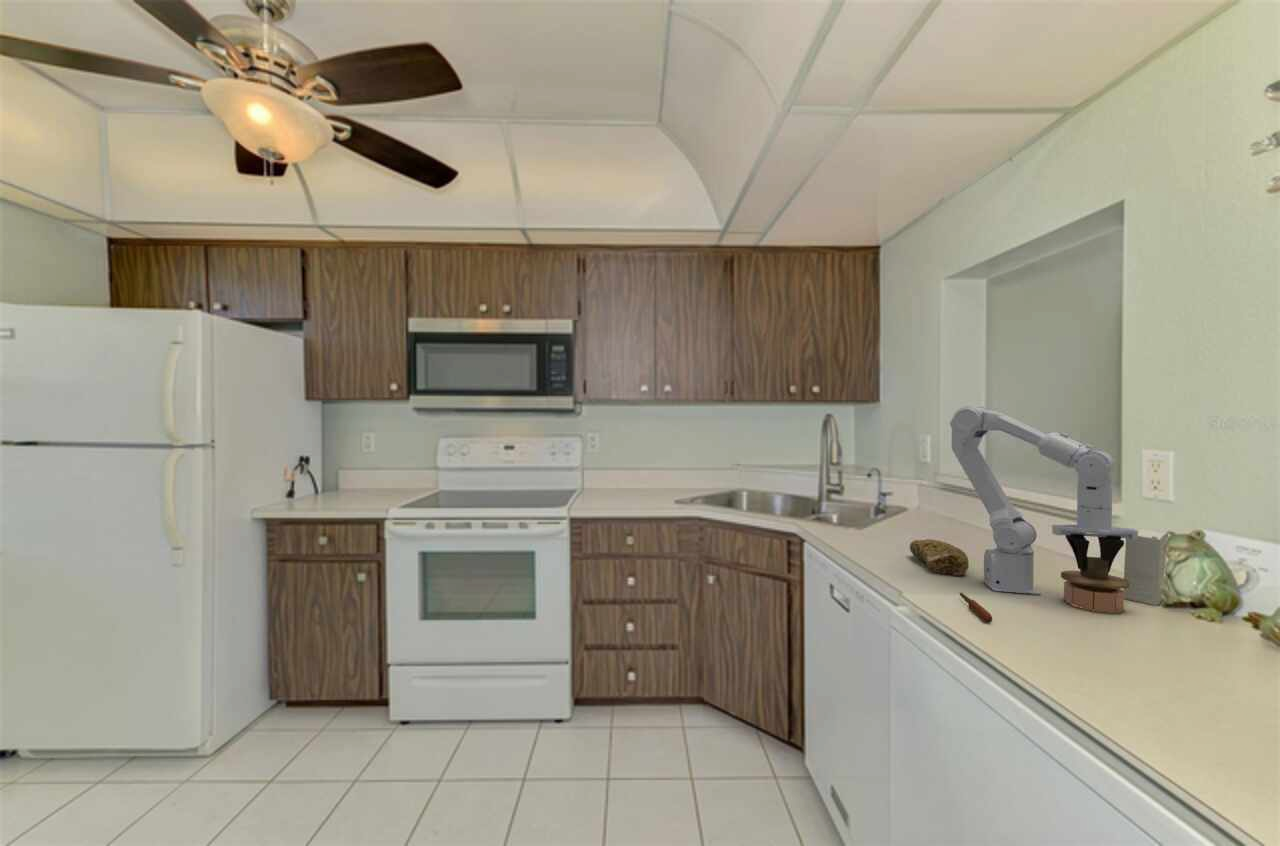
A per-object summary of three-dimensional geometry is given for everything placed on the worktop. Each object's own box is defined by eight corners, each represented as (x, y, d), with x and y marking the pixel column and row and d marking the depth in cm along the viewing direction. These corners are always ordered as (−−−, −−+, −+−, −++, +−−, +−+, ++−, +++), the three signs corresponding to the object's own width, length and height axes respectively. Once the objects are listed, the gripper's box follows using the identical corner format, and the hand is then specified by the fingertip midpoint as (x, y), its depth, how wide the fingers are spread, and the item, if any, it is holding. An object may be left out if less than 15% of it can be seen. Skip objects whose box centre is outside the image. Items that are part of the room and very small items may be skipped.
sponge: (974, 583, 136) (961, 549, 154) (969, 554, 135) (957, 523, 153) (916, 586, 142) (910, 553, 160) (911, 558, 140) (905, 528, 158)
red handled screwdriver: (992, 624, 106) (992, 614, 106) (985, 624, 106) (985, 614, 106) (962, 598, 121) (962, 589, 121) (956, 598, 121) (956, 589, 121)
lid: (1075, 585, 113) (1075, 562, 113) (1051, 572, 123) (1051, 551, 123) (1141, 590, 109) (1141, 566, 110) (1111, 576, 120) (1111, 554, 120)
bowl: (1078, 610, 114) (1078, 591, 114) (1058, 596, 122) (1058, 578, 122) (1131, 614, 111) (1131, 595, 111) (1107, 600, 120) (1107, 582, 120)
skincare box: (1130, 591, 126) (1131, 527, 126) (1166, 598, 121) (1167, 531, 121) (1122, 599, 120) (1123, 532, 120) (1159, 607, 116) (1160, 537, 116)
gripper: (1062, 508, 115) (1062, 572, 115) (1147, 511, 111) (1146, 578, 111) (1048, 503, 121) (1047, 564, 122) (1127, 506, 117) (1126, 569, 118)
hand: (1093, 570), depth 117 cm, fingers closed on lid, 3 cm apart
